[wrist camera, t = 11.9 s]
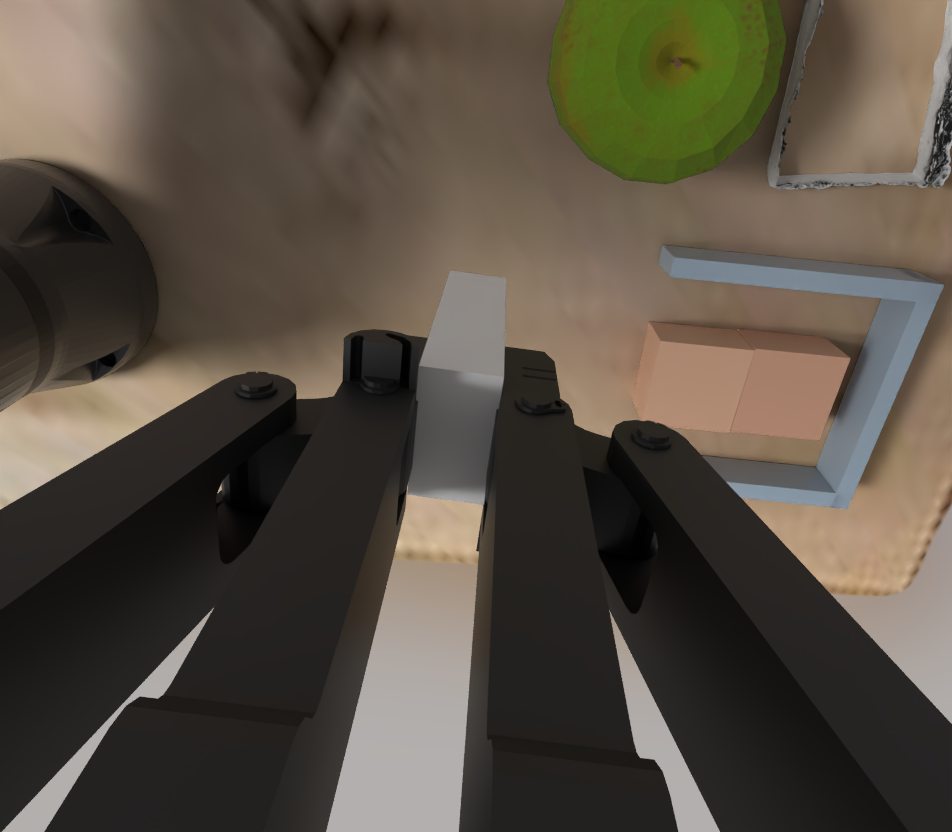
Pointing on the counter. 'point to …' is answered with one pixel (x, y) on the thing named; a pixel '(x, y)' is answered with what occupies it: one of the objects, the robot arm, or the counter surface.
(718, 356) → the terracotta tile
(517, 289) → the counter surface
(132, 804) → the robot arm
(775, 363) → the terracotta tile
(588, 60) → the apple
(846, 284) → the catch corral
